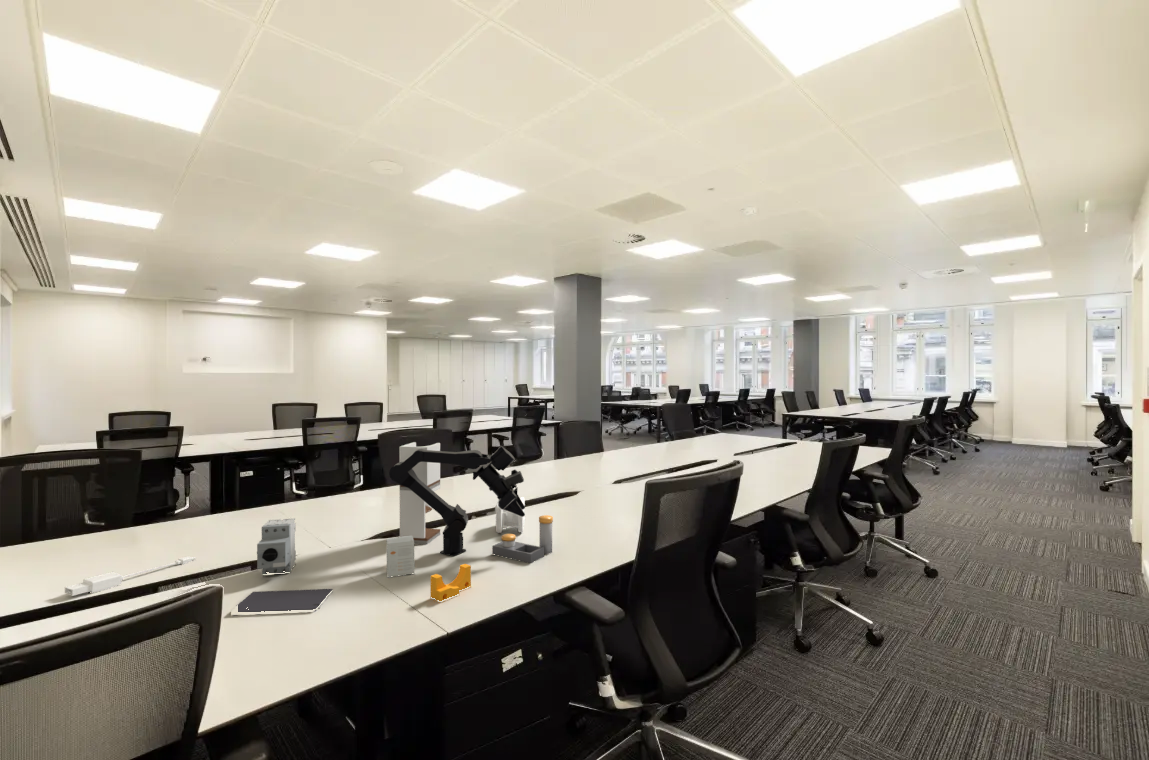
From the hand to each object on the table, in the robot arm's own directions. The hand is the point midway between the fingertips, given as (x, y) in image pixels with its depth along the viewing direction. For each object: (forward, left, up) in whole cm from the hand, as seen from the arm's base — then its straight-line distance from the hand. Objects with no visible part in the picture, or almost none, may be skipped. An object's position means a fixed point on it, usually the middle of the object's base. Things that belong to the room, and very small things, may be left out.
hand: (524, 512), depth 184 cm
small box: (-36, +21, -14) cm, 44 cm away
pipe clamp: (-39, -4, -14) cm, 42 cm away
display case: (-9, +41, -14) cm, 44 cm away
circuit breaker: (-56, +53, -14) cm, 78 cm away
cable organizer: (+17, +19, -14) cm, 29 cm away
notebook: (-67, +31, -14) cm, 75 cm away
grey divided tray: (-5, -1, -13) cm, 14 cm away
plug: (+3, -7, -13) cm, 15 cm away
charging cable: (-80, +86, -14) cm, 118 cm away
